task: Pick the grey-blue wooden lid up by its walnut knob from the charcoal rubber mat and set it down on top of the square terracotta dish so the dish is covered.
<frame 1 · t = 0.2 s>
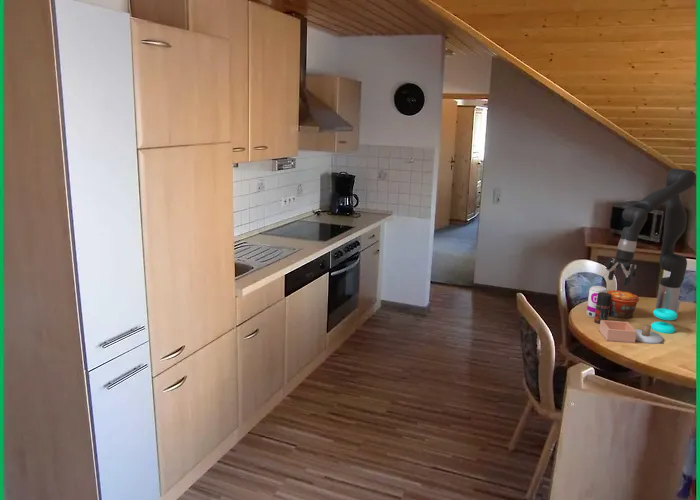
hand: (617, 282, 260), 22 cm above the table, tool pointing down, fingers open, 8 cm apart
supplement can: (594, 316, 279), on the table
food container: (618, 314, 282), on the table
donuts: (662, 331, 262), on the table
lid: (645, 337, 252), resting on mat
deodorant: (600, 323, 270), on the table
dish: (616, 337, 252), on the table
mat: (644, 338, 252), on the table
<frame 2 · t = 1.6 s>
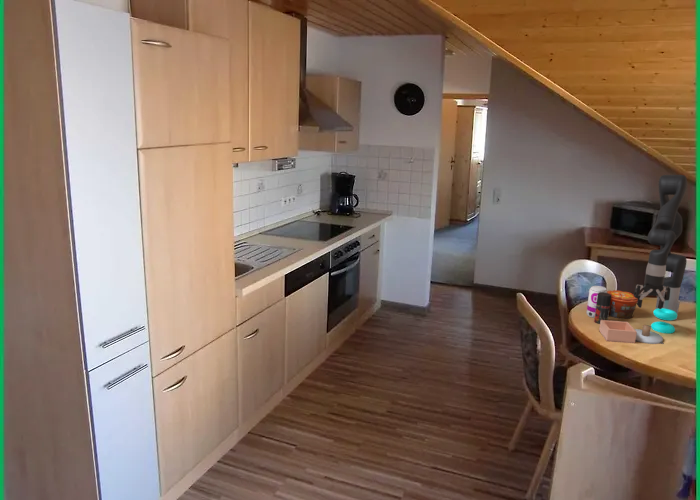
hand: (649, 307, 249), 15 cm above the table, tool pointing down, fingers open, 8 cm apart
nothing on the table moved.
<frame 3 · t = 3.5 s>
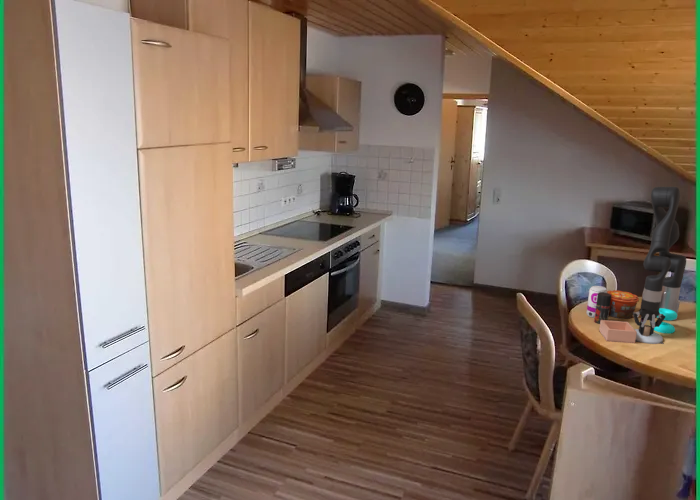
hand: (645, 334, 252), 2 cm above the table, tool pointing down, fingers closed on lid, 3 cm apart
lid: (645, 337, 252), resting on mat, touching gripper
everything else where it was.
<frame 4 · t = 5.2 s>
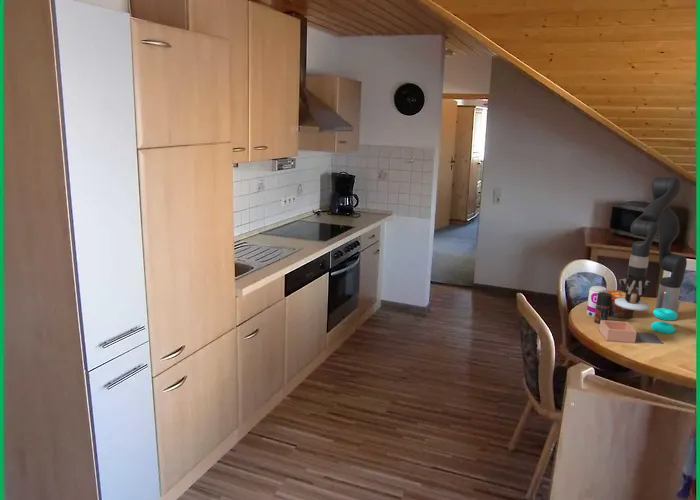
hand: (632, 301, 247), 18 cm above the table, tool pointing down, fingers closed on lid, 3 cm apart
lid: (631, 305, 248), point 16 cm above the table, touching gripper
everything else where it was.
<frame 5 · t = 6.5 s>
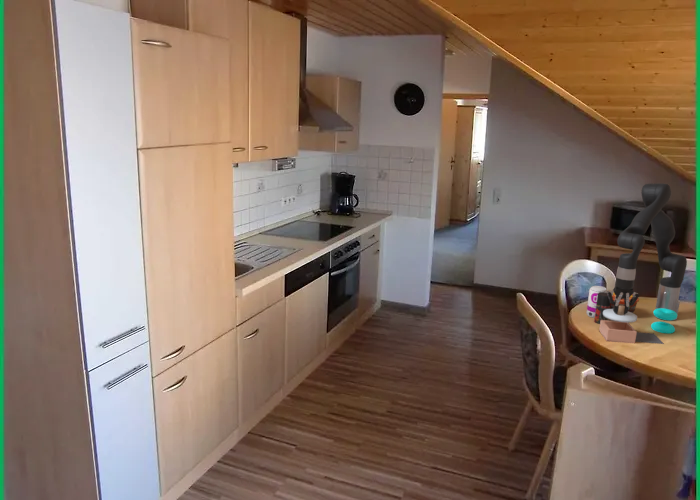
hand: (619, 313, 249), 12 cm above the table, tool pointing down, fingers closed on lid, 3 cm apart
lid: (619, 316, 250), point 10 cm above the table, touching gripper
everything else where it was.
when the fingers open (9 cm above the table, at t = 7.3 s): lid drops 1 cm, resting on dish.
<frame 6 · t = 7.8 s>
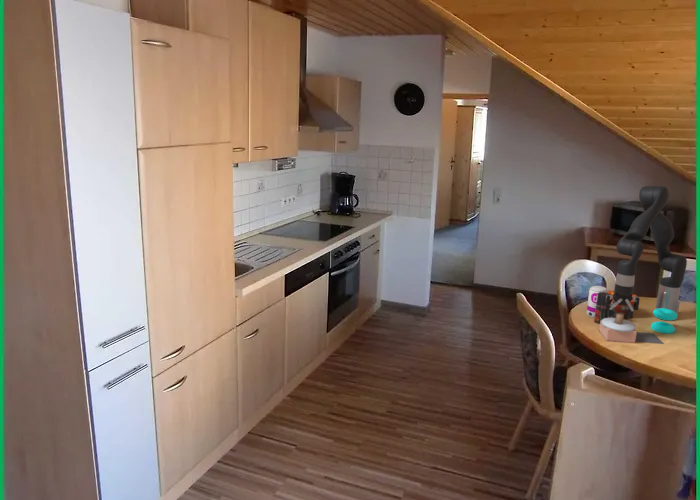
hand: (619, 317, 250), 10 cm above the table, tool pointing down, fingers open, 8 cm apart
lid: (618, 325, 251), point 6 cm above the table, touching dish
everything else where it was.
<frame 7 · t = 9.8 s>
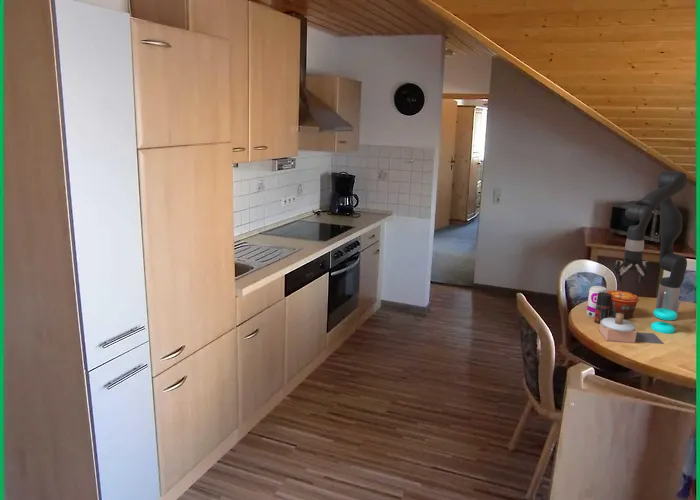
hand: (629, 282, 253), 24 cm above the table, tool pointing down, fingers open, 8 cm apart
nothing on the table moved.
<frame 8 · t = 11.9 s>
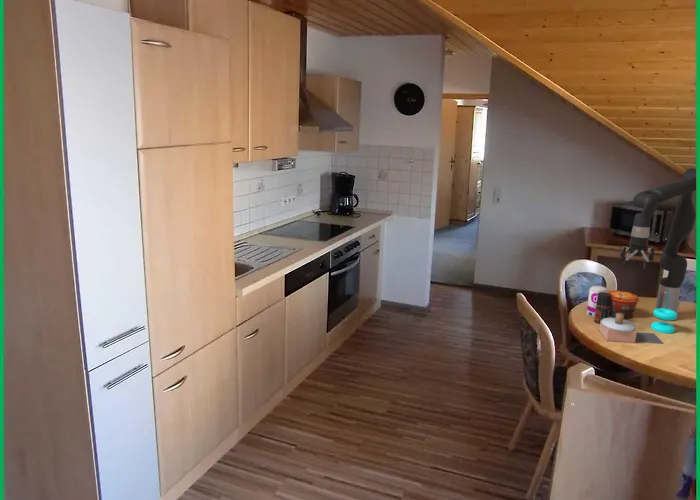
hand: (635, 268, 264), 28 cm above the table, tool pointing down, fingers open, 8 cm apart
nothing on the table moved.
at the end: lid 0.1 cm off-centre on the dish, point 6.0 cm above the dish's base; lid tilted 0°; the gripper is holding nothing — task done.
